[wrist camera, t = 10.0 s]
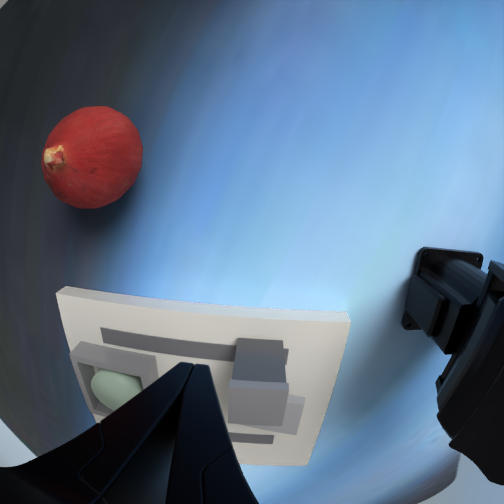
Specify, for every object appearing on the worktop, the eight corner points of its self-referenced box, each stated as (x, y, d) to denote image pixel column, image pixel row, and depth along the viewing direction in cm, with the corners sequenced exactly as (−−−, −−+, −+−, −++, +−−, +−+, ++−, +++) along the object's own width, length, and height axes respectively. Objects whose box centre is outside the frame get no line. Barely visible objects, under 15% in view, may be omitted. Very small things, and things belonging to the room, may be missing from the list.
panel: (346, 311, 20) (358, 337, 17) (305, 454, 26) (308, 480, 22) (65, 285, 21) (41, 304, 18) (107, 428, 26) (97, 450, 23)
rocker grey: (305, 397, 19) (304, 404, 18) (297, 428, 20) (296, 435, 19) (235, 384, 20) (232, 391, 19) (234, 415, 21) (231, 422, 20)
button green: (141, 367, 21) (134, 380, 19) (149, 405, 22) (144, 418, 20) (93, 357, 21) (85, 369, 19) (105, 395, 22) (98, 406, 20)
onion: (117, 215, 19) (45, 249, 11) (73, 156, 18) (-6, 163, 10) (178, 158, 18) (120, 160, 10) (128, 97, 17) (56, 71, 9)
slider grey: (284, 339, 19) (289, 390, 15) (279, 374, 20) (281, 426, 15) (236, 336, 19) (228, 386, 15) (235, 372, 20) (227, 423, 16)
